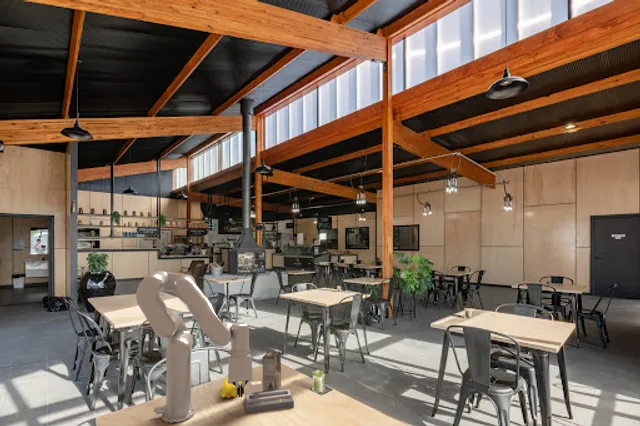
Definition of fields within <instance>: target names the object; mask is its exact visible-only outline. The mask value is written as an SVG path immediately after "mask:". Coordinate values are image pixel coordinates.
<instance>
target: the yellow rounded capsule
mask: <svg viewBox="0 0 640 426" xmlns="http://www.w3.org/2000/svg"><path fill="white" fill-rule="evenodd" d="M239 384H240V385H241V384H242V381H239ZM220 396H221V397H222V398H223V399H225V398H227V399H231V398H232V397H233V398H235V397H236V396H238V395H237V388H236V386H235V385H233V384H228V375H227V376H226V377H225V378H224V381H223V383H222V387H221V391H220Z"/></svg>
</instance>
